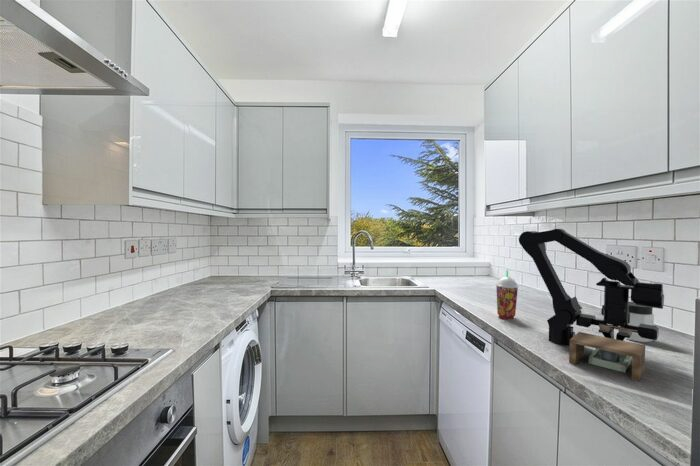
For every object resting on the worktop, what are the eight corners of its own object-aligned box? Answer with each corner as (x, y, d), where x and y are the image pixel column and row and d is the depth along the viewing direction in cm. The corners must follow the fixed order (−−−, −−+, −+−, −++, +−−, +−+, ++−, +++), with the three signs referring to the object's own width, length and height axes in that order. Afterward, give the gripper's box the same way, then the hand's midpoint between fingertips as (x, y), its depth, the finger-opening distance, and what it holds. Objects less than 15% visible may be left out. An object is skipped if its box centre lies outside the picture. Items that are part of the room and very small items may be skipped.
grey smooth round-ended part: (599, 364, 93) (599, 348, 93) (602, 361, 95) (603, 345, 95) (614, 368, 91) (615, 351, 90) (617, 364, 93) (618, 348, 93)
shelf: (568, 365, 94) (569, 339, 94) (578, 355, 101) (579, 331, 101) (639, 384, 83) (640, 355, 83) (644, 372, 90) (645, 345, 90)
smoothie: (492, 314, 147) (494, 268, 146) (513, 315, 145) (514, 269, 145) (498, 319, 138) (499, 271, 138) (520, 320, 137) (521, 272, 137)
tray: (588, 365, 94) (588, 356, 94) (597, 354, 102) (597, 346, 102) (625, 375, 88) (625, 365, 88) (631, 362, 96) (632, 353, 96)
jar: (653, 338, 118) (654, 304, 117) (652, 344, 112) (654, 308, 111) (620, 332, 124) (621, 300, 123) (618, 338, 118) (619, 303, 117)
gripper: (661, 303, 99) (659, 356, 99) (585, 293, 112) (584, 340, 113) (657, 310, 91) (655, 367, 91) (576, 298, 104) (575, 348, 105)
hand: (614, 354), depth 100 cm, fingers closed
